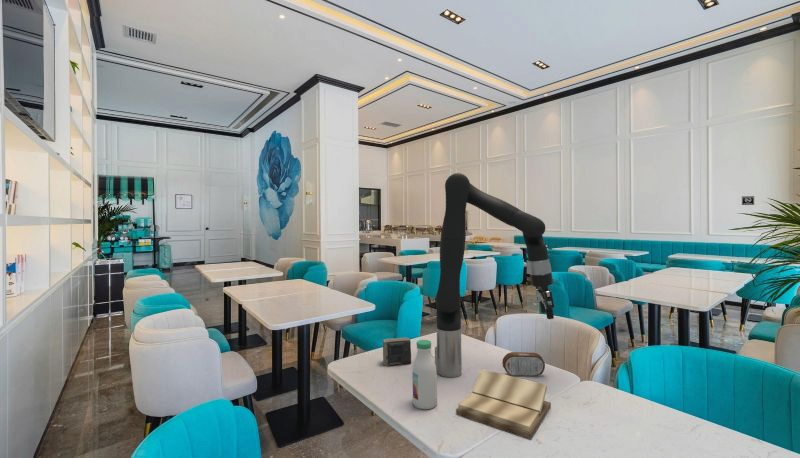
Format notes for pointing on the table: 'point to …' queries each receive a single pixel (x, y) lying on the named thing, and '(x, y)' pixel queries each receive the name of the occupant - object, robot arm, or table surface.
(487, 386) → the oak plank
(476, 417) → the floor board
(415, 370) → the milk bottle
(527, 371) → the tin
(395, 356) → the camera
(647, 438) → the table surface
